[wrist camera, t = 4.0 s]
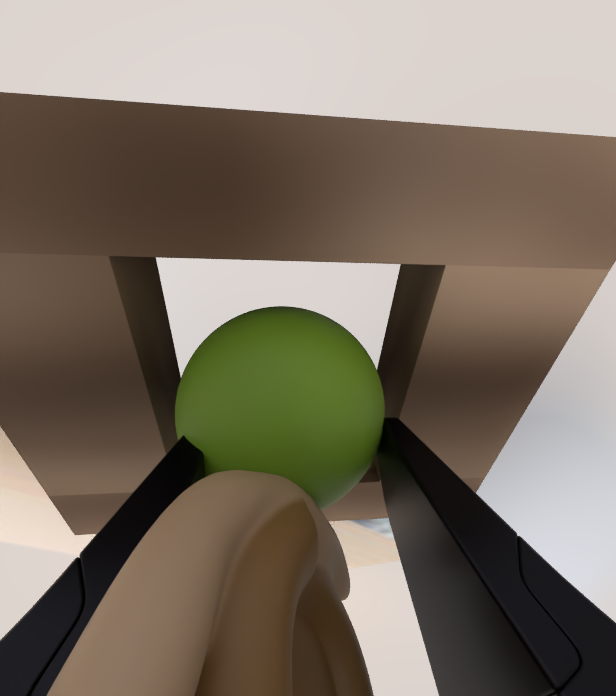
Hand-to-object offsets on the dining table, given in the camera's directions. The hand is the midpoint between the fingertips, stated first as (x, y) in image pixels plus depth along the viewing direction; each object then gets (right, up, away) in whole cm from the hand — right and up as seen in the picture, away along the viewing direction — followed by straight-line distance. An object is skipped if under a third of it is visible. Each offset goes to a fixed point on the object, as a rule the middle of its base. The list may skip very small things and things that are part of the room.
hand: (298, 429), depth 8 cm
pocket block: (-1, +2, +3) cm, 4 cm away
